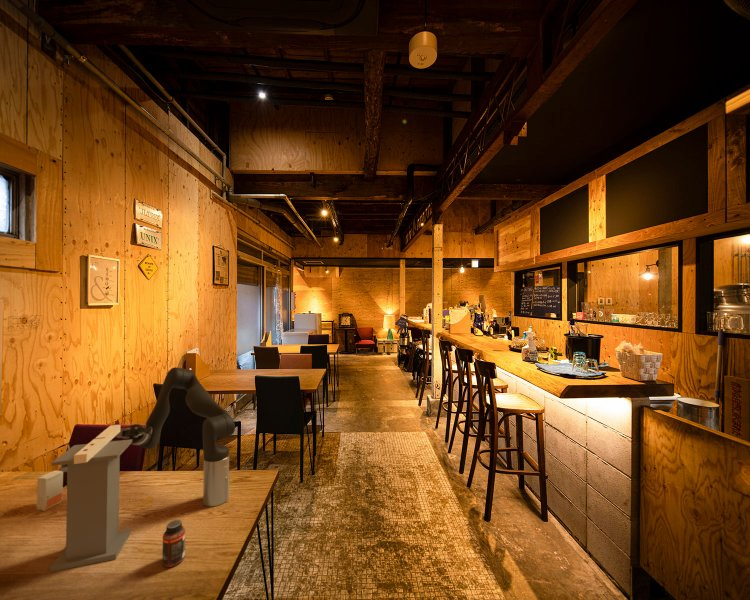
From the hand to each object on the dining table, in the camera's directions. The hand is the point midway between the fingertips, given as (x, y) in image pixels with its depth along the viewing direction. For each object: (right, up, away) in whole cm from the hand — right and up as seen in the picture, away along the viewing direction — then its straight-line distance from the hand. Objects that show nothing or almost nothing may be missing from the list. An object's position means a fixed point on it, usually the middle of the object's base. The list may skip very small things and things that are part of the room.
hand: (125, 430), depth 128 cm
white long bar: (+7, +3, -21) cm, 22 cm away
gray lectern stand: (+8, -29, -24) cm, 38 cm away
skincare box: (-28, -29, -1) cm, 40 cm away
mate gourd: (-36, -29, +14) cm, 48 cm away
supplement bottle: (+35, -30, -27) cm, 53 cm away
